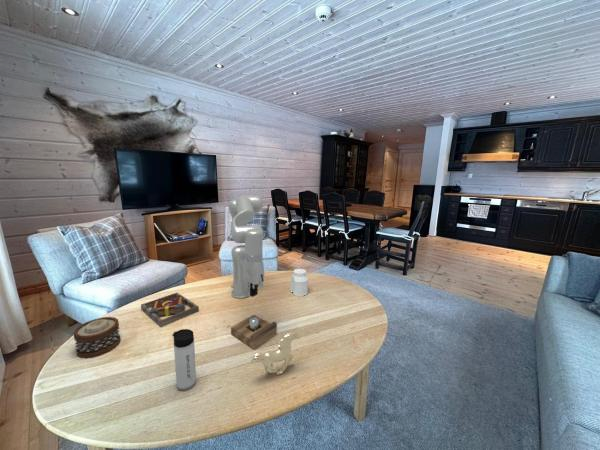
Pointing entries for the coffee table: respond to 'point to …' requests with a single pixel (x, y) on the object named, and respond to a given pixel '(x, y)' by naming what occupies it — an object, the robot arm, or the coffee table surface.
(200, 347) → the coffee table surface
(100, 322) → the brown drum
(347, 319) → the coffee table surface
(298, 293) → the jar
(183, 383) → the travel mug
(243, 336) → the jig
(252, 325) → the blue-grey domed cylinder
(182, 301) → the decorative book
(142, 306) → the book frame
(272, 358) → the unicorn
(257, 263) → the robot arm
